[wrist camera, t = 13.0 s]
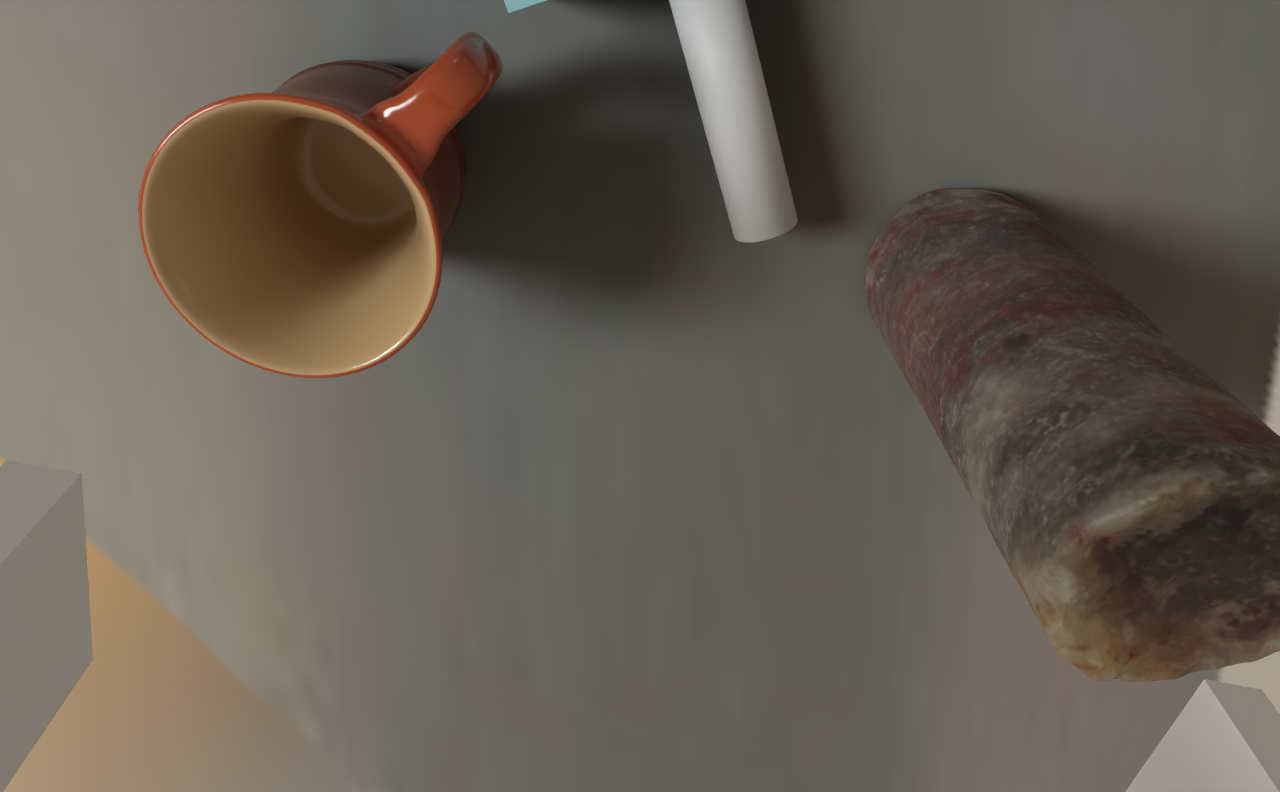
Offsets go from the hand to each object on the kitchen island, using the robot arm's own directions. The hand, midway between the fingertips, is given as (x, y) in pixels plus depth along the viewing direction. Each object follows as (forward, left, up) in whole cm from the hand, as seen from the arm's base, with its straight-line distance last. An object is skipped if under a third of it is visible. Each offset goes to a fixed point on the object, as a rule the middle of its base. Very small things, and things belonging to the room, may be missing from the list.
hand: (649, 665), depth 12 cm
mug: (-2, -9, -29) cm, 30 cm away
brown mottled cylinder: (+10, +10, -29) cm, 32 cm away
